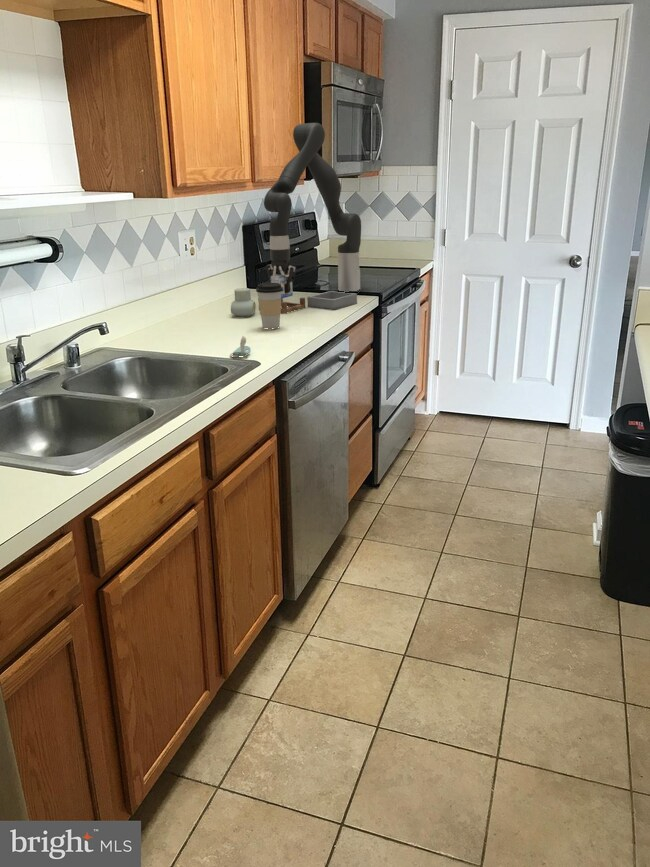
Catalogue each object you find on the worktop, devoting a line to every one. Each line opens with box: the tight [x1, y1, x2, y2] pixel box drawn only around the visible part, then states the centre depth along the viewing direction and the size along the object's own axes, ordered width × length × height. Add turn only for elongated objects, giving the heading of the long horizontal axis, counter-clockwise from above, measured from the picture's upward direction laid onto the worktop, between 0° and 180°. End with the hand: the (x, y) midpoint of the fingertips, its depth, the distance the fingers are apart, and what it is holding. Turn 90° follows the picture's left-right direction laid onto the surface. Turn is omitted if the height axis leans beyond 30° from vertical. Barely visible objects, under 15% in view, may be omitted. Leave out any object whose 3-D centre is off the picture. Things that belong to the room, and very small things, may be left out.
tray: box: [306, 290, 358, 311], centre depth 286 cm, size 16×13×4 cm
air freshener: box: [230, 287, 257, 318], centre depth 270 cm, size 11×8×10 cm
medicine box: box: [270, 274, 294, 299], centre depth 278 cm, size 8×4×9 cm, turn 143°
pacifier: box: [229, 335, 252, 358], centre depth 214 cm, size 7×6×6 cm
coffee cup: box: [255, 282, 283, 330], centre depth 248 cm, size 9×9×15 cm
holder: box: [258, 297, 306, 314], centre depth 281 cm, size 13×13×4 cm
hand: (282, 292), depth 279 cm, fingers closed on medicine box, 4 cm apart
